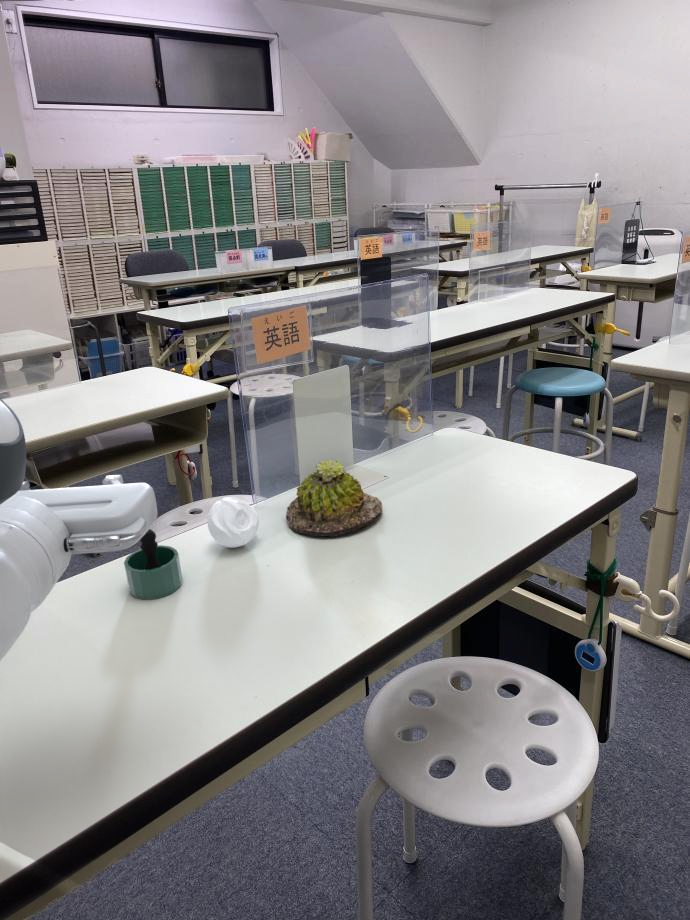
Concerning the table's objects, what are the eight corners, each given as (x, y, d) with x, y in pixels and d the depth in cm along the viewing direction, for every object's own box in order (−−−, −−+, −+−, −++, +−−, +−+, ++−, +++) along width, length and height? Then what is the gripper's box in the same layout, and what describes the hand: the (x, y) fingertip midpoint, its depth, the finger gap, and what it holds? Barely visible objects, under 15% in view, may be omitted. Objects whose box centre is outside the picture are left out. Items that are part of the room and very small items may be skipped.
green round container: (123, 601, 95) (117, 573, 93) (137, 573, 102) (131, 547, 100) (176, 597, 95) (171, 569, 93) (186, 570, 102) (182, 543, 100)
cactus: (348, 547, 105) (344, 489, 102) (266, 527, 114) (260, 473, 110) (399, 503, 119) (398, 451, 115) (323, 488, 127) (319, 439, 123)
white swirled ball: (231, 561, 104) (225, 515, 101) (200, 547, 108) (193, 503, 105) (269, 540, 109) (264, 496, 106) (238, 528, 114) (232, 485, 111)
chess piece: (157, 594, 95) (145, 530, 92) (133, 588, 97) (121, 525, 94) (178, 578, 99) (167, 516, 95) (154, 573, 101) (143, 512, 97)
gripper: (130, 508, 56) (166, 449, 68) (-122, 525, 56) (-38, 462, 68) (143, 575, 58) (176, 506, 71) (-98, 592, 58) (-21, 519, 71)
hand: (69, 484), depth 70 cm, fingers open, 8 cm apart
